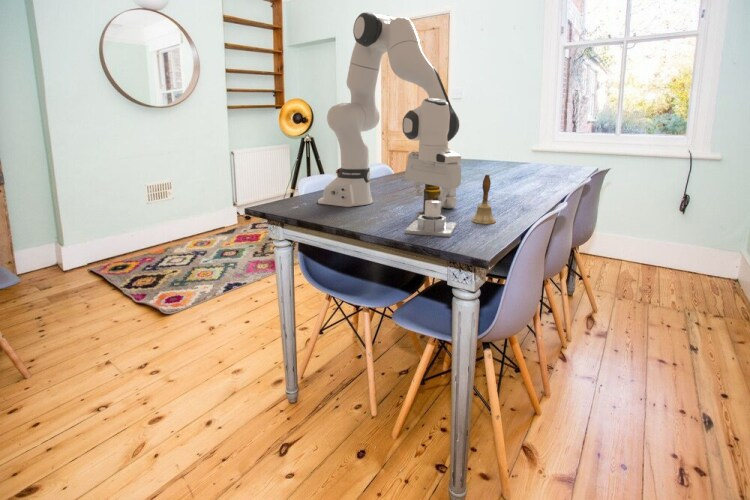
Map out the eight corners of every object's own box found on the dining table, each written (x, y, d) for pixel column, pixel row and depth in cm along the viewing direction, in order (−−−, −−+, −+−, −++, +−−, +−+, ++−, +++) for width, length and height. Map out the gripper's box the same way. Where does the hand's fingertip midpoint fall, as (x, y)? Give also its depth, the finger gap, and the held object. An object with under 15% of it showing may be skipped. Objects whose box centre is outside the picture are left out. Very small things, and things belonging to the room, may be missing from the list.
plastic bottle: (456, 210, 173) (459, 157, 167) (438, 209, 175) (440, 156, 169) (456, 206, 179) (459, 155, 173) (439, 206, 181) (441, 154, 175)
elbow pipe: (428, 228, 144) (429, 203, 142) (421, 224, 149) (422, 200, 146) (442, 227, 146) (444, 202, 143) (436, 223, 150) (437, 199, 148)
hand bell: (478, 217, 163) (481, 172, 158) (499, 220, 158) (503, 174, 153) (466, 221, 157) (469, 175, 152) (489, 225, 152) (492, 177, 147)
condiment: (443, 216, 165) (444, 182, 162) (421, 217, 163) (422, 183, 160) (436, 211, 172) (437, 179, 168) (414, 212, 170) (415, 180, 166)
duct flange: (405, 233, 143) (405, 220, 142) (415, 222, 155) (415, 211, 154) (450, 236, 139) (450, 224, 137) (456, 225, 151) (457, 214, 150)
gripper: (401, 151, 145) (400, 194, 150) (452, 158, 131) (448, 205, 135) (415, 150, 149) (413, 192, 154) (465, 156, 135) (462, 202, 139)
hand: (430, 198), depth 144 cm, fingers open, 8 cm apart
